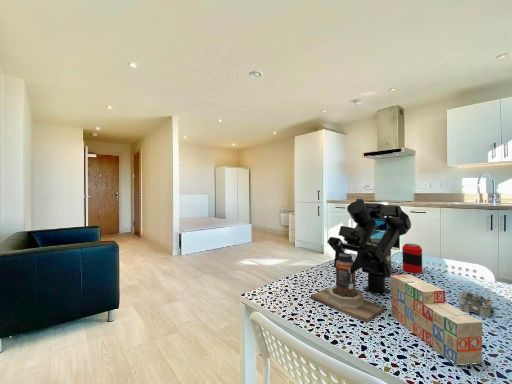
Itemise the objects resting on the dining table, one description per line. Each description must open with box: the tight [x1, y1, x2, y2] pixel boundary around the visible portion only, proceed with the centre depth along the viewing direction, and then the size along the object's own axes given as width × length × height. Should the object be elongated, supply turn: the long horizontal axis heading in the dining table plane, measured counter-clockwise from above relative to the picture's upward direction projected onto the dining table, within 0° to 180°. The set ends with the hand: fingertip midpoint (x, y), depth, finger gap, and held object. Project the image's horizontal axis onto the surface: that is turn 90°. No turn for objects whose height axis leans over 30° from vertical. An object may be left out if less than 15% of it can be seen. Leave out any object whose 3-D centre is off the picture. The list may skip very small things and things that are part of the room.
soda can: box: [401, 243, 423, 274], centre depth 111 cm, size 8×8×12 cm
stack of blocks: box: [390, 274, 483, 365], centre depth 62 cm, size 21×6×12 cm, turn 5°
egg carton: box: [457, 290, 493, 317], centre depth 75 cm, size 11×8×4 cm
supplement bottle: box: [335, 252, 356, 292], centre depth 79 cm, size 6×6×11 cm
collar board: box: [309, 285, 386, 323], centre depth 79 cm, size 11×20×4 cm, turn 38°
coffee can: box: [367, 237, 392, 269], centre depth 112 cm, size 10×10×14 cm
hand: (342, 269), depth 78 cm, fingers closed on supplement bottle, 6 cm apart
